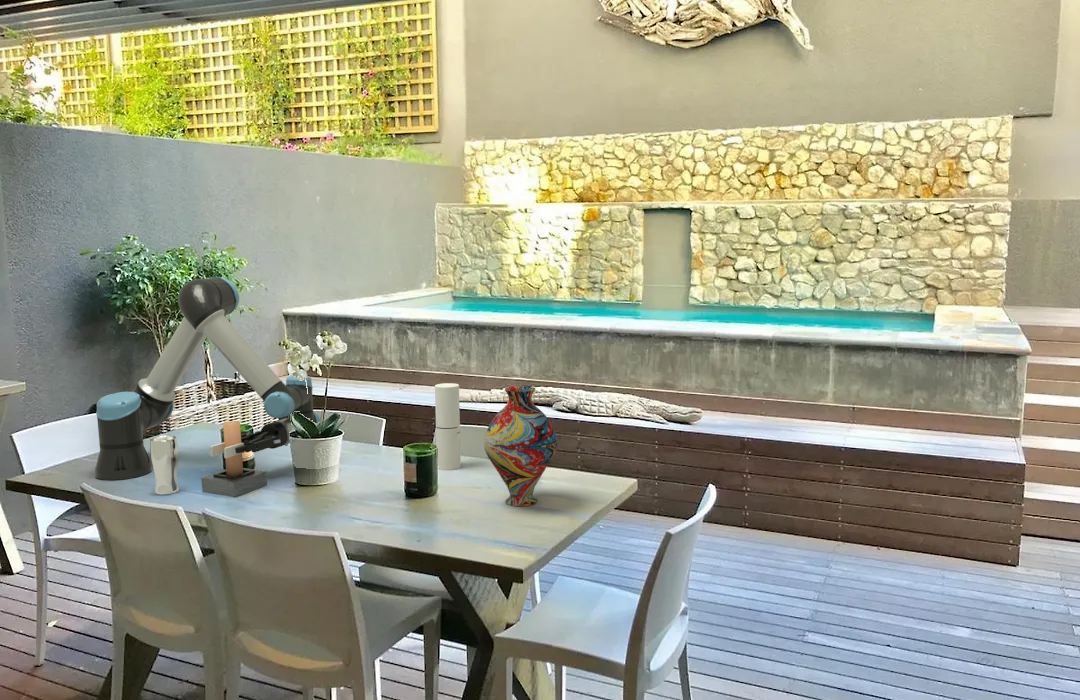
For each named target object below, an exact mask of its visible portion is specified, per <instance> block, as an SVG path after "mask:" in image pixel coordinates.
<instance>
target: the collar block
mask: <svg viewBox="0 0 1080 700" xmlns="http://www.w3.org/2000/svg"><path fill="white" fill-rule="evenodd" d="M267 480H268V478H267V471H265V470H261V469H260V470H259V469H253V468H245V467H243V474H241V475H238V476H235V477H233V476H226V469H224V470H220V471H218V472H217V471H216V472H213V473H211V474H208V475H205V476H202V477H201V491H202V493H209V494H214V495H219V496H227V497H231V498H232V497H233V498H237V497H239V496H242V495H245V494H247V493H250V492H252V491H255V490H258V489H260V488H261V489H262V488H263V487H266V486H267V485H268V481H267Z"/></svg>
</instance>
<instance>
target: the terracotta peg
mask: <svg viewBox="0 0 1080 700" xmlns="http://www.w3.org/2000/svg"><path fill="white" fill-rule="evenodd" d="M222 427H223V428H222V429H223V440H224V446H225V448H226V447H229V446H233V445H236V444H239V443H241V434H242V433H241V432H242V431H241V430H242V429H241V421H238V420H231V421H225V422H223V423H222ZM224 459H225V470H226V476H233V477H235V476H238V475H241V474H243V468H244V467H243V466H244V463H243V462H244V461H243V453H241V454H238V455H235V456H232V457H229V458H224Z"/></svg>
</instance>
